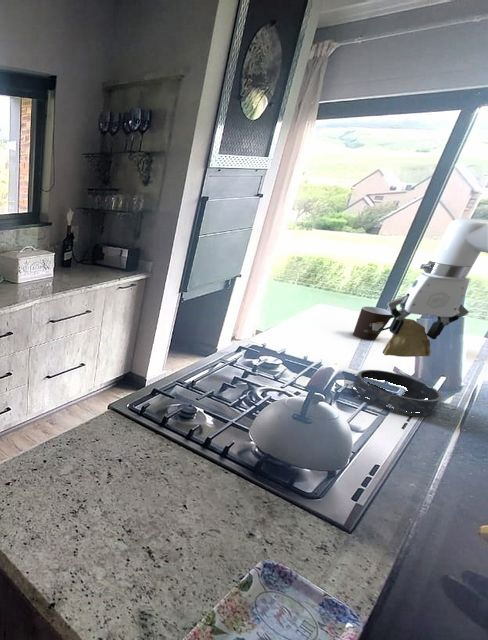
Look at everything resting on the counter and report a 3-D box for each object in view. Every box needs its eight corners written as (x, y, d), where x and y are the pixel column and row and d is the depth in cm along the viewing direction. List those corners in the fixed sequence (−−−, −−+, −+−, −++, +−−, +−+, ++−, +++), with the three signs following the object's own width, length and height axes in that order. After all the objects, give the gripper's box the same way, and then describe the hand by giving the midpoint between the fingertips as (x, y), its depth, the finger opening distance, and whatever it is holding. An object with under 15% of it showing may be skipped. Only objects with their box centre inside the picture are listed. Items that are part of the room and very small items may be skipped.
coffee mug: (348, 336, 145) (361, 310, 140) (349, 330, 150) (362, 304, 146) (390, 346, 138) (406, 319, 133) (390, 339, 144) (405, 312, 139)
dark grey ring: (413, 391, 111) (422, 377, 108) (445, 422, 97) (456, 407, 95) (342, 379, 116) (349, 365, 114) (363, 407, 103) (372, 392, 100)
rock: (433, 344, 113) (388, 332, 119) (452, 327, 106) (404, 314, 111) (419, 374, 111) (374, 360, 116) (438, 359, 104) (389, 344, 109)
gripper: (410, 270, 102) (377, 334, 110) (502, 277, 96) (461, 345, 105) (397, 264, 108) (367, 326, 117) (483, 271, 103) (445, 335, 111)
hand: (411, 334), depth 111 cm, fingers closed on rock, 7 cm apart
